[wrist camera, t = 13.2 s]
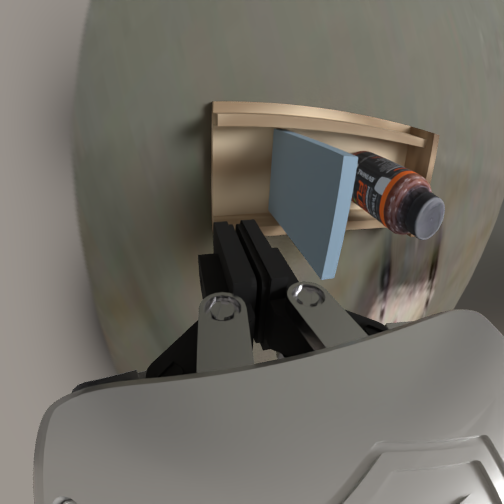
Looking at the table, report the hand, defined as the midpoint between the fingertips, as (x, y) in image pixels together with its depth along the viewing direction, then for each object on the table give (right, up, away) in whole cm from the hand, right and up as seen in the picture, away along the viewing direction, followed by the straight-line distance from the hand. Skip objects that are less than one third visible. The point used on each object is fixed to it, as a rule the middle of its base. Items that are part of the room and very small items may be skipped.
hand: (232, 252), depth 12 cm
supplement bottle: (+13, +9, +17) cm, 23 cm away
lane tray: (+9, +9, +17) cm, 21 cm away
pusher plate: (+3, +8, +14) cm, 16 cm away
